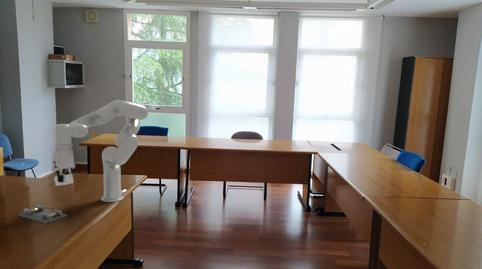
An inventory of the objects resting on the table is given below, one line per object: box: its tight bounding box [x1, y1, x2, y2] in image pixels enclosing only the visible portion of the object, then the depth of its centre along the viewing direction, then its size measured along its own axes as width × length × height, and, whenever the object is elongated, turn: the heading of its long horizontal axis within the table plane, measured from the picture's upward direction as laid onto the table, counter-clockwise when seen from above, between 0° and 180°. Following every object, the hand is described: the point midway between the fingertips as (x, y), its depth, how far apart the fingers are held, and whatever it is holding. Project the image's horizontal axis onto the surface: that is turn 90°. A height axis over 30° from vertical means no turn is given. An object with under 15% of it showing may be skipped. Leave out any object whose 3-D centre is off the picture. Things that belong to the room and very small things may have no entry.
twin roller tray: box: [23, 204, 63, 220], centre depth 174 cm, size 7×20×2 cm, turn 64°
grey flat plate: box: [17, 208, 68, 224], centre depth 174 cm, size 12×21×1 cm, turn 64°
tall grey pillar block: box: [53, 173, 74, 187], centre depth 184 cm, size 4×10×5 cm, turn 64°
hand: (63, 180), depth 184 cm, fingers closed on tall grey pillar block, 3 cm apart
